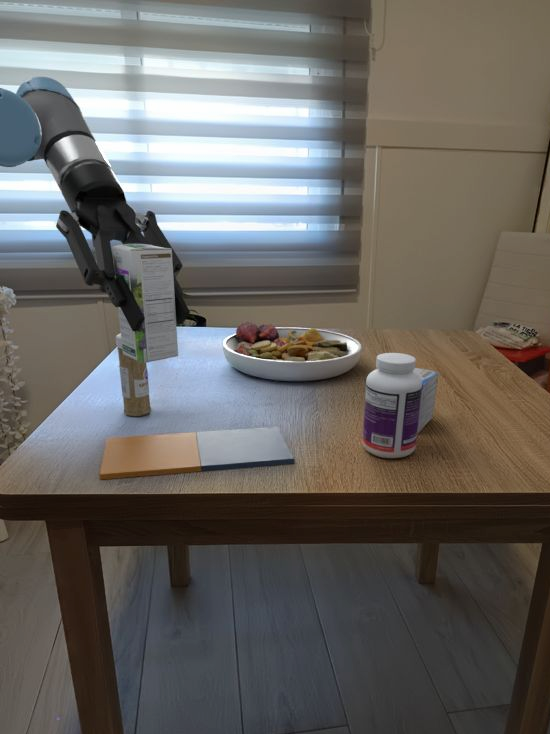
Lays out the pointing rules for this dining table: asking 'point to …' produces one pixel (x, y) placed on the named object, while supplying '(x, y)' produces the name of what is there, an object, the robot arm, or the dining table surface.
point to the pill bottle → (392, 406)
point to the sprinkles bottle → (133, 384)
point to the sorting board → (193, 452)
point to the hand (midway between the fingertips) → (162, 321)
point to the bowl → (290, 352)
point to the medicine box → (426, 396)
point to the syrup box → (148, 301)
